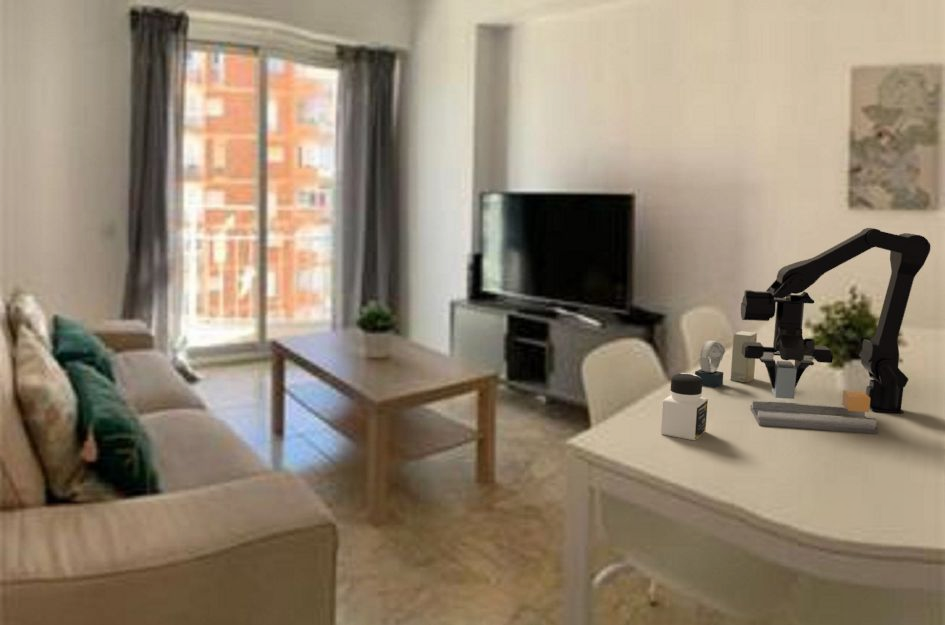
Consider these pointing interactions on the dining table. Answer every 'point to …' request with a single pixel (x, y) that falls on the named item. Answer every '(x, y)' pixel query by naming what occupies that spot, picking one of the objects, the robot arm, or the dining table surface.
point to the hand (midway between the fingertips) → (783, 388)
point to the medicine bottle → (684, 408)
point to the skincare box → (742, 357)
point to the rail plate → (812, 417)
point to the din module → (784, 380)
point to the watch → (711, 364)
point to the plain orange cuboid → (856, 401)
